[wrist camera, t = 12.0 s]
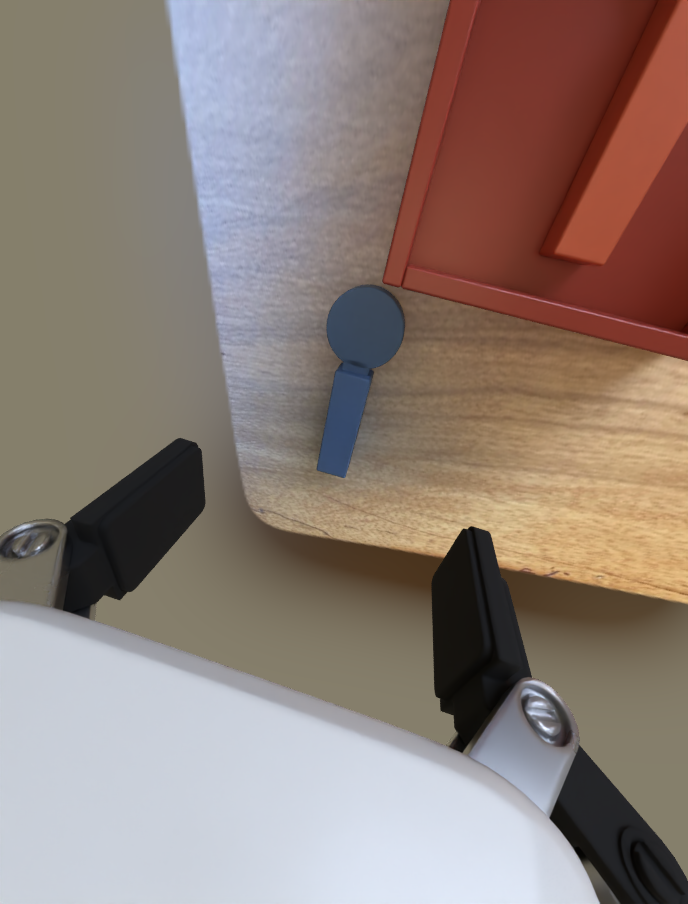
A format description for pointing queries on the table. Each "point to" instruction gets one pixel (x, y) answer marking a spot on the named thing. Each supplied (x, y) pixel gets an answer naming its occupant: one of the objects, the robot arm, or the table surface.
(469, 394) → the table surface
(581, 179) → the red spoon
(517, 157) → the red bin
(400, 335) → the blue spoon
